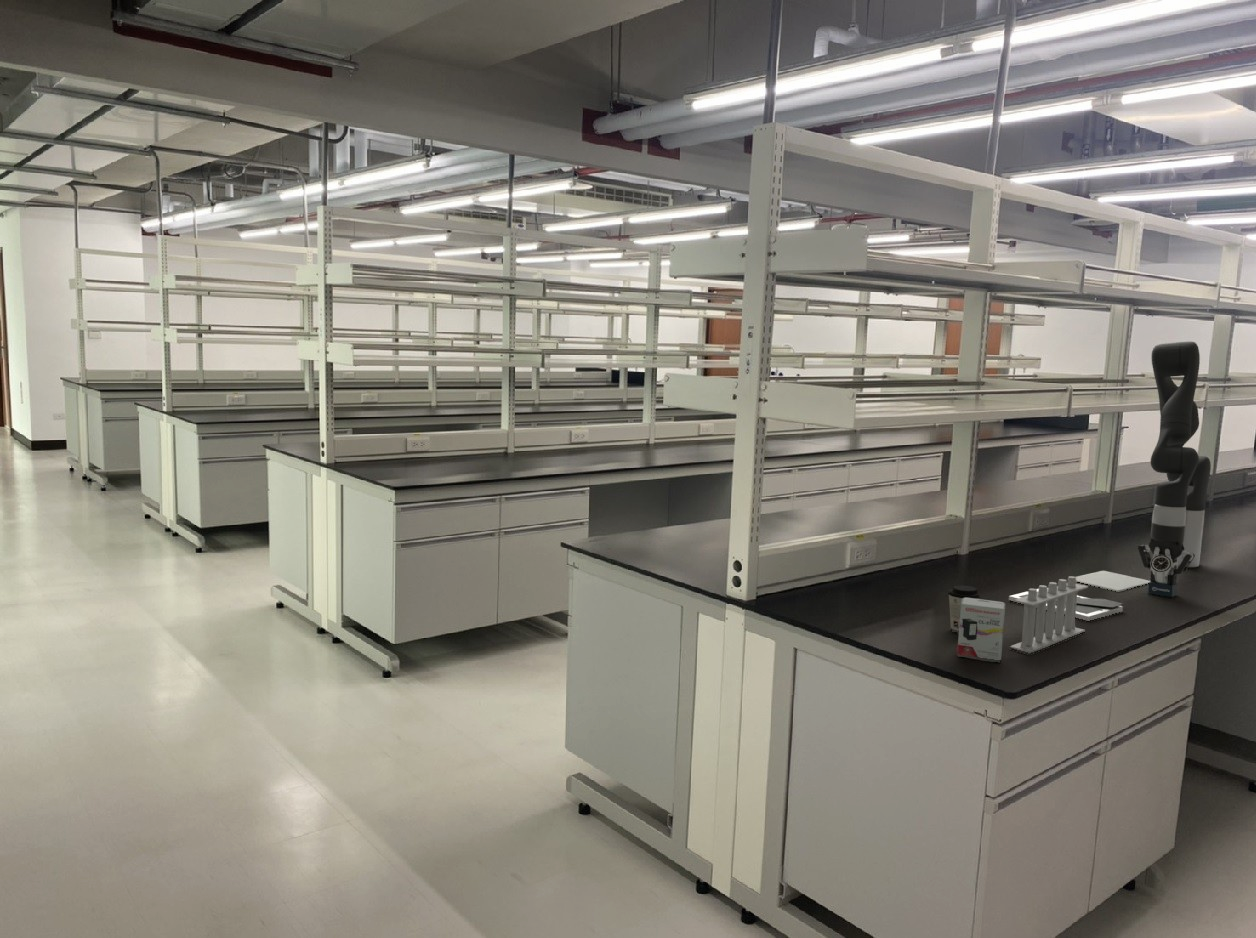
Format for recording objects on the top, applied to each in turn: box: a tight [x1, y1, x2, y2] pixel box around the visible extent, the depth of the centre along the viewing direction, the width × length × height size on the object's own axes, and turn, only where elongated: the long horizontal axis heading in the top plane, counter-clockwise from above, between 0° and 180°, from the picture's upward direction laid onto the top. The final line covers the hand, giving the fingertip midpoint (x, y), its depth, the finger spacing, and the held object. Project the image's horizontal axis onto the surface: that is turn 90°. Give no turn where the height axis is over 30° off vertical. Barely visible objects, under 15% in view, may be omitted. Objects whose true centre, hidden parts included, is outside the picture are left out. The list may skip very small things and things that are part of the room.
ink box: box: [956, 598, 1006, 661], centre depth 187 cm, size 9×5×12 cm, turn 66°
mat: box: [1075, 570, 1150, 593], centre depth 251 cm, size 18×14×1 cm
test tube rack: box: [1009, 576, 1089, 653], centre depth 198 cm, size 25×4×13 cm, turn 129°
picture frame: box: [1008, 587, 1124, 622], centre depth 226 cm, size 16×3×21 cm
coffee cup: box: [947, 584, 981, 631], centre depth 204 cm, size 7×7×10 cm
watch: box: [1147, 554, 1178, 598], centre depth 237 cm, size 6×8×11 cm
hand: (1162, 586), depth 238 cm, fingers closed on watch, 3 cm apart
